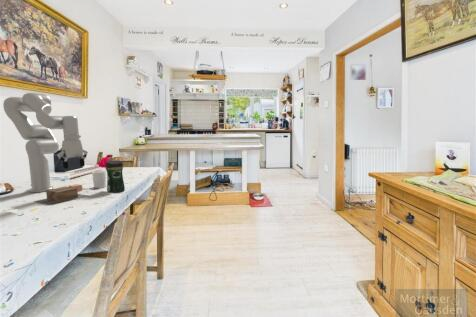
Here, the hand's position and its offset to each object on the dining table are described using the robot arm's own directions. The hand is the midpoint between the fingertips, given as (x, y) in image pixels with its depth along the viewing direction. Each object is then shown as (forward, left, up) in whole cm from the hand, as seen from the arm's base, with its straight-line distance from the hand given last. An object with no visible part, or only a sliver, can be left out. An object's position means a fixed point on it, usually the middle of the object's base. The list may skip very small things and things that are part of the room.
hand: (74, 167), depth 160 cm
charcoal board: (+11, -14, -16) cm, 23 cm away
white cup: (-3, +18, -16) cm, 24 cm away
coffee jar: (+17, +14, -16) cm, 27 cm away
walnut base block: (+11, -14, -14) cm, 23 cm away
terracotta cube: (0, 0, -16) cm, 16 cm away
